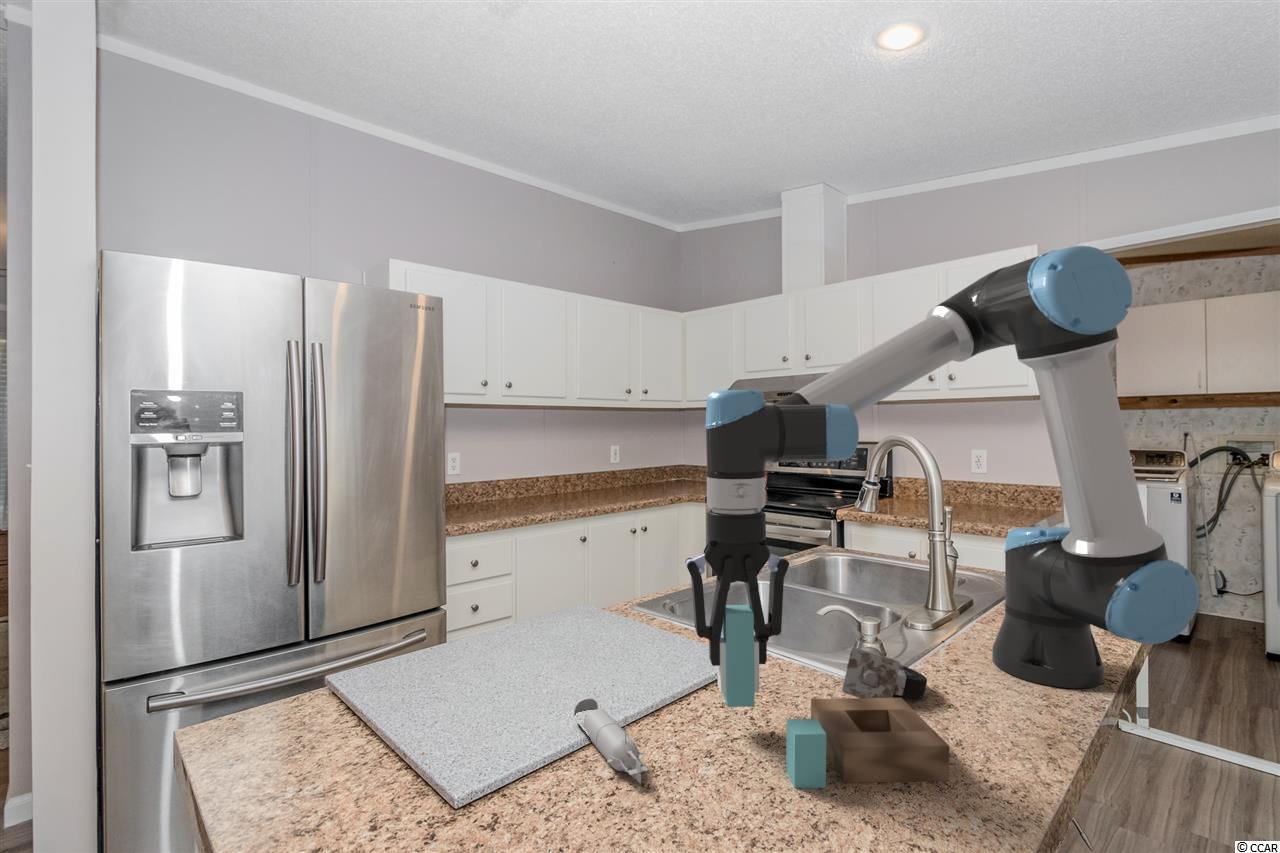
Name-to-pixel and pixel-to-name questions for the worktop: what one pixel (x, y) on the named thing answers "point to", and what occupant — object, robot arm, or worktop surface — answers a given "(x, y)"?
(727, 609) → the long pin
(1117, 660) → the worktop surface
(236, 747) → the worktop surface
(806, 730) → the short pin
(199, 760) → the worktop surface
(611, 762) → the torpedo
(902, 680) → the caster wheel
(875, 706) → the hole block
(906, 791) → the worktop surface
